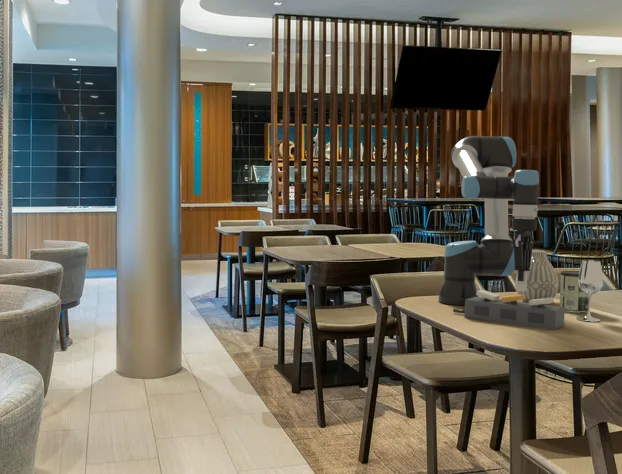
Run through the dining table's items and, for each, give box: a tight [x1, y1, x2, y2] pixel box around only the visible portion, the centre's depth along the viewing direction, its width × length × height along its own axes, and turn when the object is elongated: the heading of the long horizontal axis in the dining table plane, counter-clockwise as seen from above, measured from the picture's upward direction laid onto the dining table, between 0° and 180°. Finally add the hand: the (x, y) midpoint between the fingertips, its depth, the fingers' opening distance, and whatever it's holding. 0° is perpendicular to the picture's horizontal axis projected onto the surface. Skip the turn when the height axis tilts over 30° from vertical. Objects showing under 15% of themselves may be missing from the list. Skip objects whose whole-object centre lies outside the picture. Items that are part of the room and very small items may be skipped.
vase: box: [514, 249, 559, 303], centre depth 261 cm, size 16×16×20 cm
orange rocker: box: [501, 294, 526, 302], centre depth 221 cm, size 6×4×1 cm
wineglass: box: [575, 259, 604, 323], centre depth 226 cm, size 8×8×20 cm
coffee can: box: [559, 270, 588, 314], centre depth 244 cm, size 10×10×14 cm
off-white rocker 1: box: [476, 289, 501, 301], centre depth 226 cm, size 6×4×1 cm
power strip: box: [452, 296, 566, 331], centre depth 223 cm, size 36×9×7 cm, turn 53°
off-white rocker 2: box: [529, 298, 555, 305], centre depth 215 cm, size 6×4×1 cm
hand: (521, 290), depth 219 cm, fingers closed
